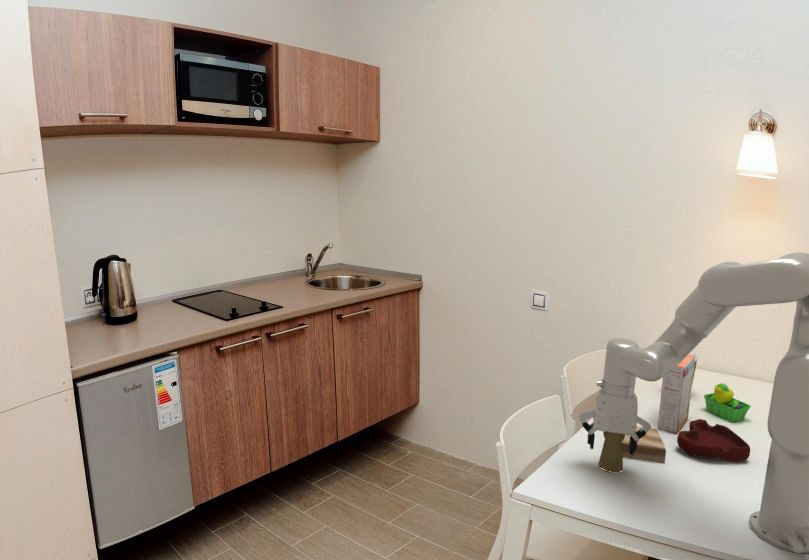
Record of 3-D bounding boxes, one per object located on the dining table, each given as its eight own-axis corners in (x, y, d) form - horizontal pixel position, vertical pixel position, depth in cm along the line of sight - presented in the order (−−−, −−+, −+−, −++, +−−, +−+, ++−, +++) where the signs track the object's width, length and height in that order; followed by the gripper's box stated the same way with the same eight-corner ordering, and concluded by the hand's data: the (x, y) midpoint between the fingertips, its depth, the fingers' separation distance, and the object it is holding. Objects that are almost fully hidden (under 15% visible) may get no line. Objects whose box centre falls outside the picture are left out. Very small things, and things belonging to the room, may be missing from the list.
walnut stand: (664, 462, 143) (666, 449, 142) (616, 456, 146) (617, 442, 145) (656, 441, 154) (657, 428, 153) (611, 435, 157) (612, 423, 156)
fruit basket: (750, 421, 168) (755, 387, 166) (729, 425, 165) (735, 390, 163) (717, 406, 178) (721, 374, 176) (697, 410, 175) (702, 377, 173)
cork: (625, 474, 137) (629, 434, 135) (600, 471, 138) (604, 431, 136) (620, 462, 143) (624, 423, 141) (596, 459, 144) (600, 421, 142)
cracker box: (667, 413, 173) (675, 350, 169) (688, 418, 169) (696, 355, 165) (655, 428, 162) (663, 362, 158) (677, 434, 158) (685, 367, 154)
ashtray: (739, 476, 137) (742, 458, 136) (671, 453, 148) (673, 436, 147) (756, 451, 150) (758, 434, 149) (692, 431, 161) (694, 416, 160)
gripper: (583, 389, 135) (576, 451, 138) (658, 398, 131) (649, 462, 134) (581, 378, 142) (575, 437, 145) (652, 386, 138) (644, 447, 141)
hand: (610, 449), depth 140 cm, fingers open, 9 cm apart
